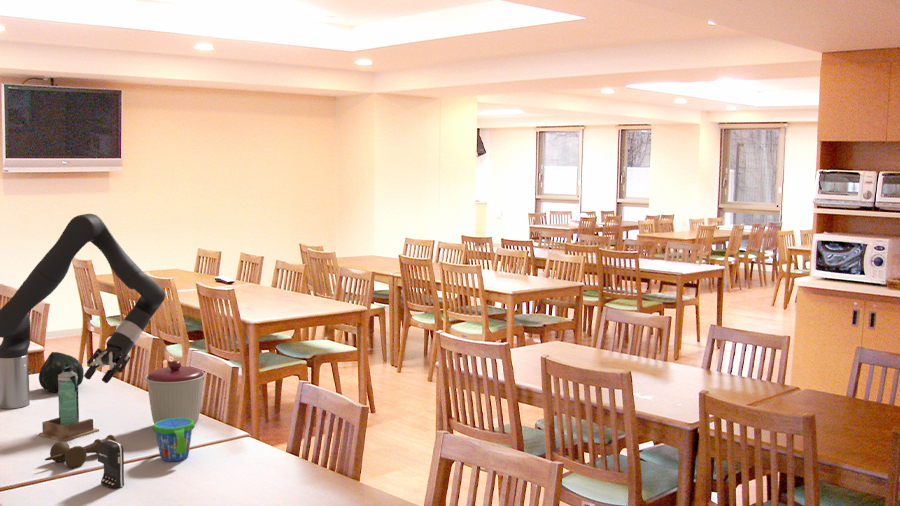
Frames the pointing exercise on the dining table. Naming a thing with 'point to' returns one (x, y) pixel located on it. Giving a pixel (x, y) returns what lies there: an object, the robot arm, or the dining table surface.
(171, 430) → the snack cup
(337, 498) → the dining table surface
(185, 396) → the canister
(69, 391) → the spray can
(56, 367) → the squash
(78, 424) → the keeper cradle
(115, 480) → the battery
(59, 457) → the kendama
